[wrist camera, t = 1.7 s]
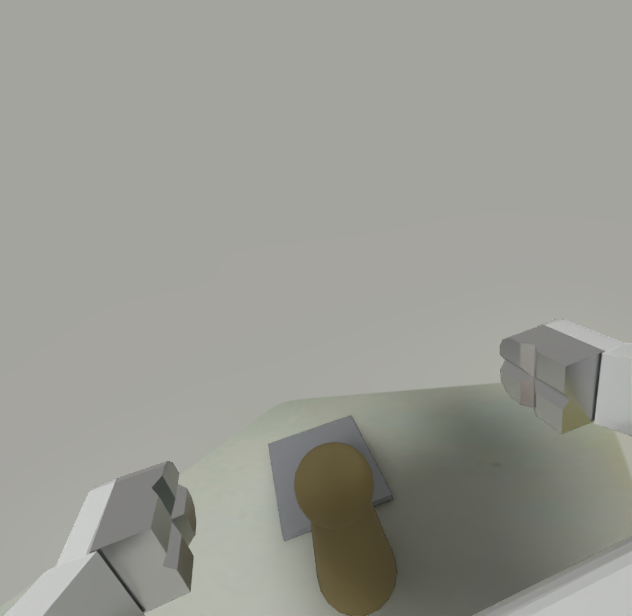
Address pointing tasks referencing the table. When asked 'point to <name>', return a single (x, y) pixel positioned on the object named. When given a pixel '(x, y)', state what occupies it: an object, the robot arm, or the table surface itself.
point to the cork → (345, 529)
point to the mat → (288, 458)
